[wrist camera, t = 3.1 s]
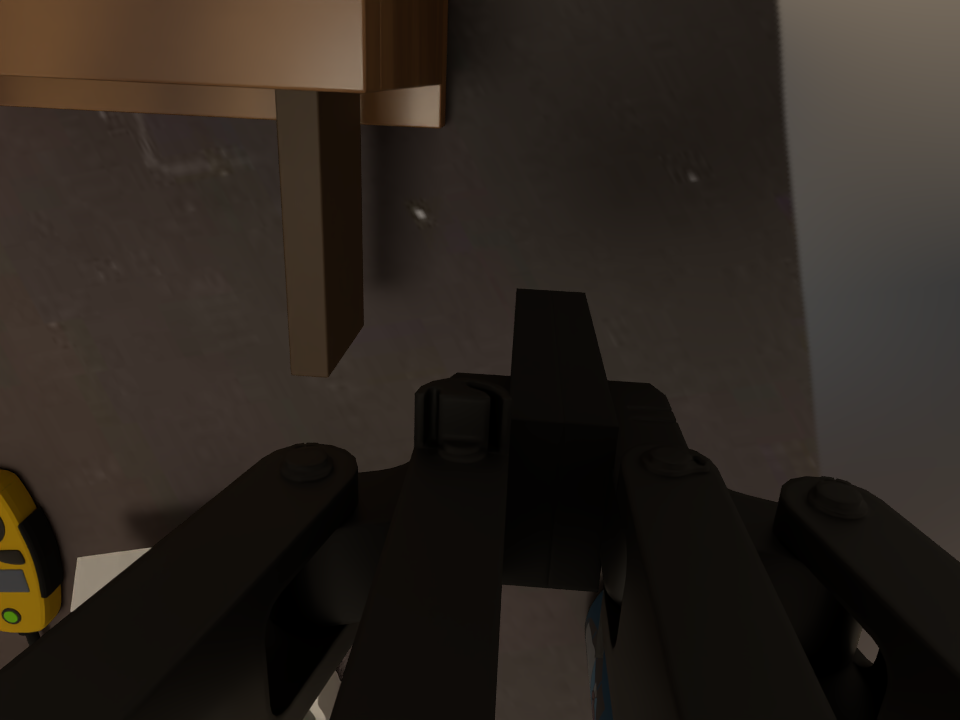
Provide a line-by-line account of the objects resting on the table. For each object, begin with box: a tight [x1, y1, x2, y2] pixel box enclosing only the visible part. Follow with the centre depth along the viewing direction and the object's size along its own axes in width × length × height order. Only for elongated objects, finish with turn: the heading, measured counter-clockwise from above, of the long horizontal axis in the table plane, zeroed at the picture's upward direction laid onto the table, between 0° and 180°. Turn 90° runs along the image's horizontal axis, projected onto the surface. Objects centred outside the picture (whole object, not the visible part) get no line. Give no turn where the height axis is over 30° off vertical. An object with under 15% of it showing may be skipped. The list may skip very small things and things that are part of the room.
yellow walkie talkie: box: [0, 469, 63, 646], centre depth 37 cm, size 5×2×15 cm
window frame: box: [0, 0, 448, 128], centre depth 21 cm, size 18×6×14 cm, turn 87°
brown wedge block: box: [275, 89, 364, 377], centre depth 22 cm, size 7×10×10 cm
